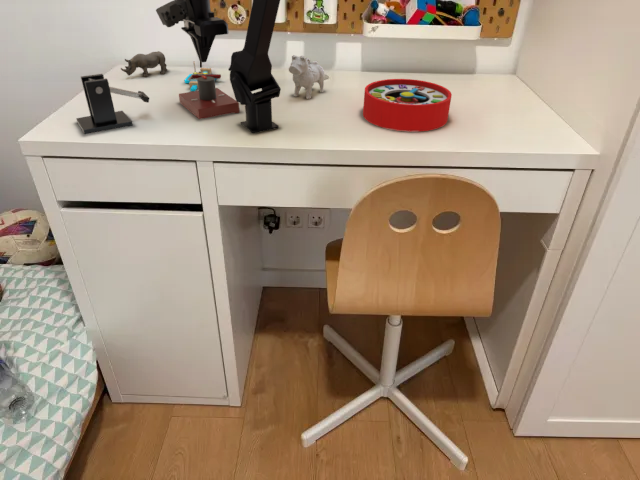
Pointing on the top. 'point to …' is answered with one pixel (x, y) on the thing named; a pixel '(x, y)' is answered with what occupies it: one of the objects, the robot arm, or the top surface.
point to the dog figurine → (306, 74)
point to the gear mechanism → (196, 75)
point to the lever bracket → (100, 107)
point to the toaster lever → (128, 93)
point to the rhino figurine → (146, 63)
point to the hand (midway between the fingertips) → (203, 61)
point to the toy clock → (406, 105)
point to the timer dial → (206, 88)
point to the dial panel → (209, 104)
